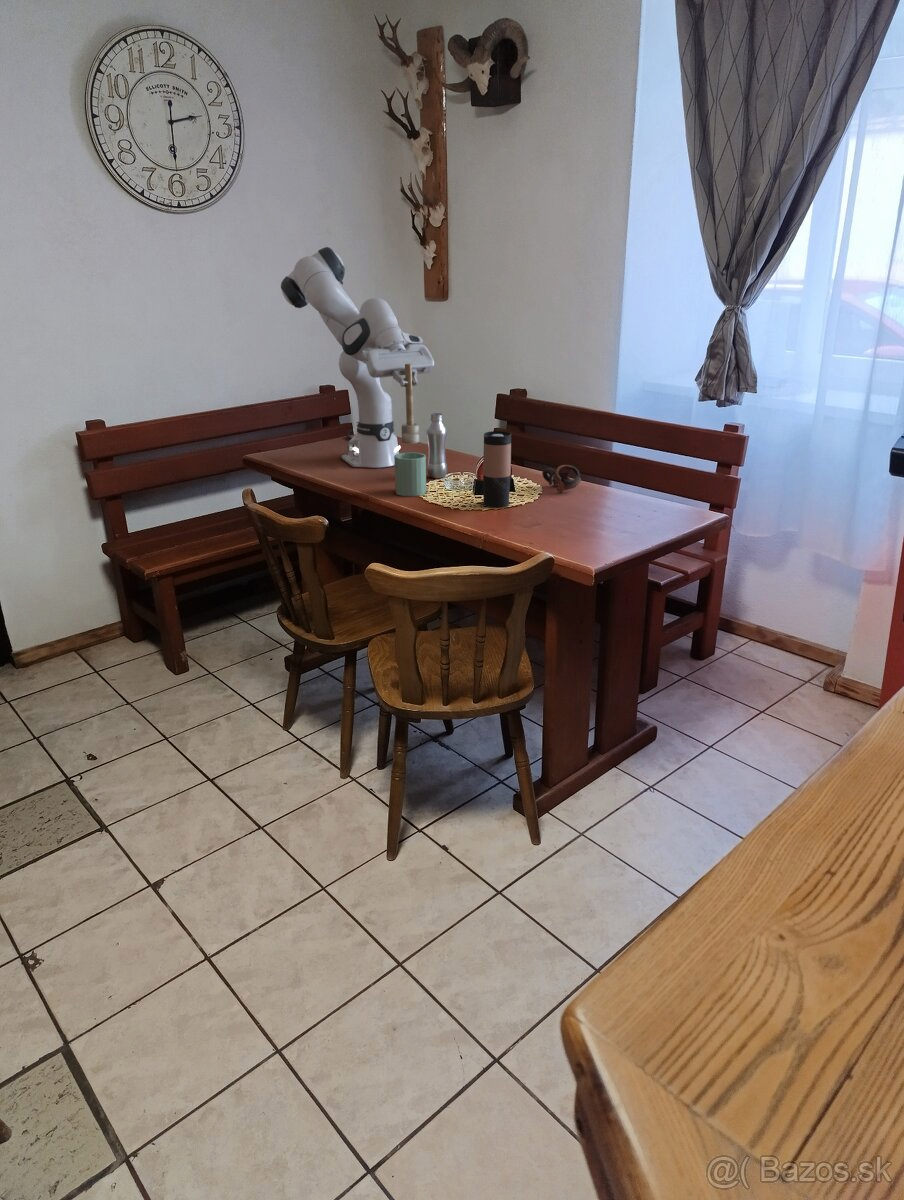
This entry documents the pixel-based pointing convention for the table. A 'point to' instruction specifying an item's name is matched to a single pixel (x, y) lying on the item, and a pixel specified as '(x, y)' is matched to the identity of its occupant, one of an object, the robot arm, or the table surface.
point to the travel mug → (496, 468)
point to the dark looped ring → (561, 477)
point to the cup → (410, 474)
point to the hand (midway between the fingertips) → (410, 385)
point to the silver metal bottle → (436, 447)
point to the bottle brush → (409, 412)
